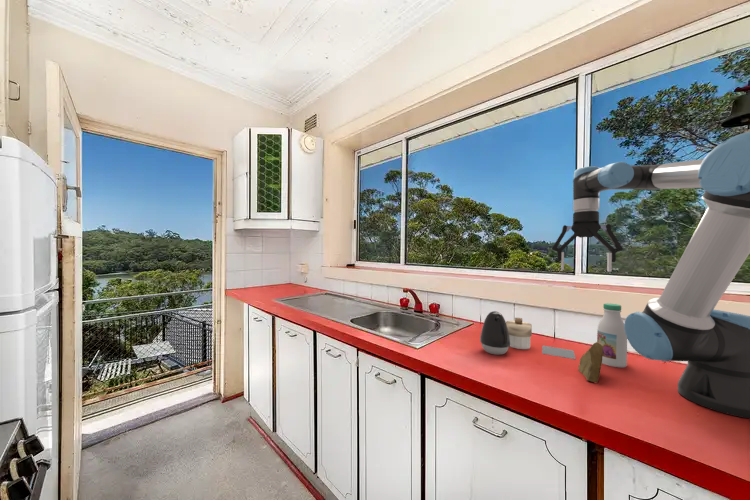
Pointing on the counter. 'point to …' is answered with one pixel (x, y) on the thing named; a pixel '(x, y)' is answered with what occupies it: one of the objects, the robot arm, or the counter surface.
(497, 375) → the counter surface
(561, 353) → the mat
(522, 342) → the bowl
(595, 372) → the rock
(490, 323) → the black egg-shaped device
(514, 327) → the lid
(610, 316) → the milk bottle
